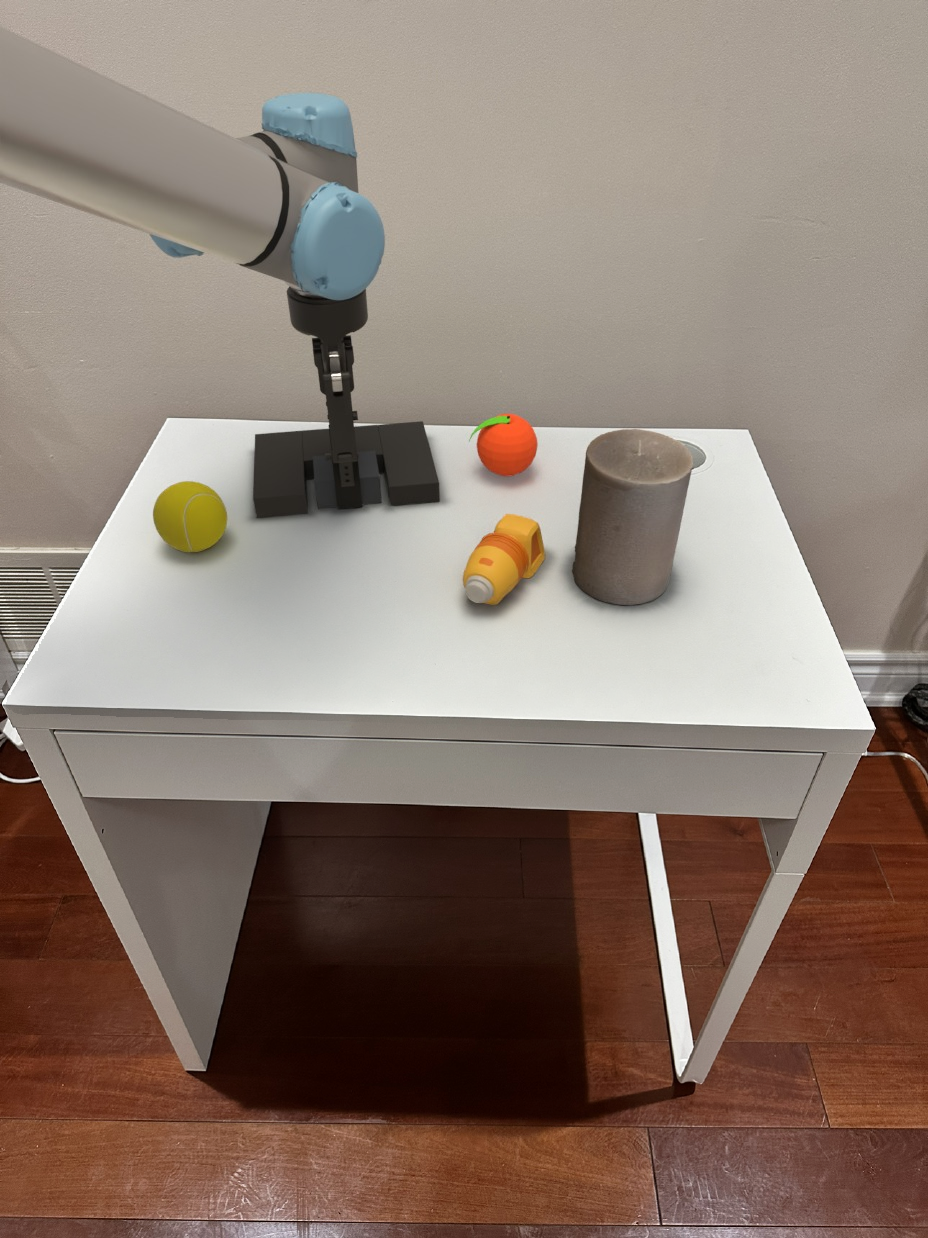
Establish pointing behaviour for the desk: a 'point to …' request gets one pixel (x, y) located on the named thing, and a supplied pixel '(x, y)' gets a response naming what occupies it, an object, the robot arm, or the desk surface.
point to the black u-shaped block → (291, 453)
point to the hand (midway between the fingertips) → (348, 490)
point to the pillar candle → (630, 515)
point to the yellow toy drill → (503, 559)
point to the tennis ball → (190, 516)
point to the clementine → (506, 444)
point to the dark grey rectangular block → (327, 484)
